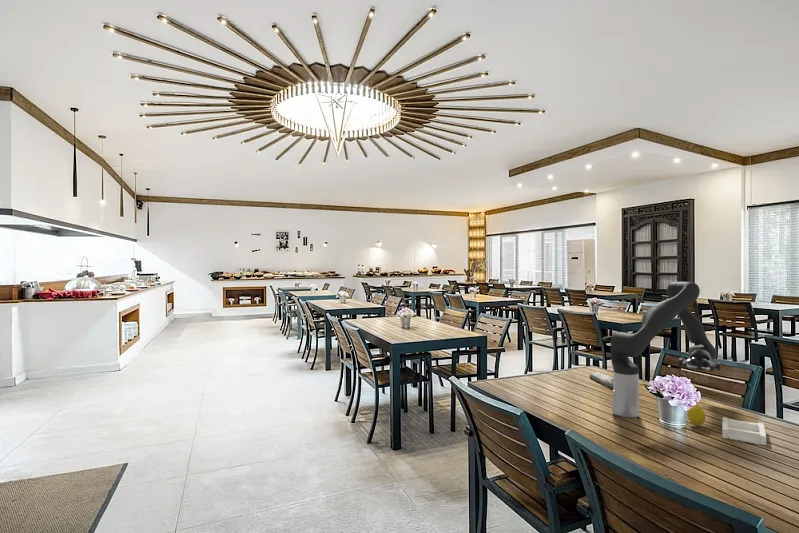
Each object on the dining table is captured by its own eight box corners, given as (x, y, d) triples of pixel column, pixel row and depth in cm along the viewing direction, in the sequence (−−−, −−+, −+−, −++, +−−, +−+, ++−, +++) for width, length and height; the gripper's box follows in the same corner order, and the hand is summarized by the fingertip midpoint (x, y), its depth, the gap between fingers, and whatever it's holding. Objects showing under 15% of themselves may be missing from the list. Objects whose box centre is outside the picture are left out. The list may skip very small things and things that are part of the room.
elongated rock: (601, 378, 244) (584, 380, 242) (600, 369, 244) (583, 371, 242) (646, 394, 209) (626, 396, 208) (645, 382, 209) (625, 385, 208)
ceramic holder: (722, 437, 158) (722, 429, 158) (722, 424, 170) (722, 416, 170) (766, 445, 151) (766, 436, 151) (763, 431, 163) (763, 423, 163)
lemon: (708, 429, 166) (708, 408, 166) (691, 428, 167) (691, 407, 167) (701, 424, 171) (701, 403, 171) (685, 423, 172) (685, 402, 172)
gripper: (680, 349, 196) (677, 355, 183) (720, 352, 187) (720, 360, 174) (680, 366, 196) (677, 374, 183) (720, 370, 187) (720, 379, 174)
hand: (698, 367), depth 179 cm, fingers open, 8 cm apart
